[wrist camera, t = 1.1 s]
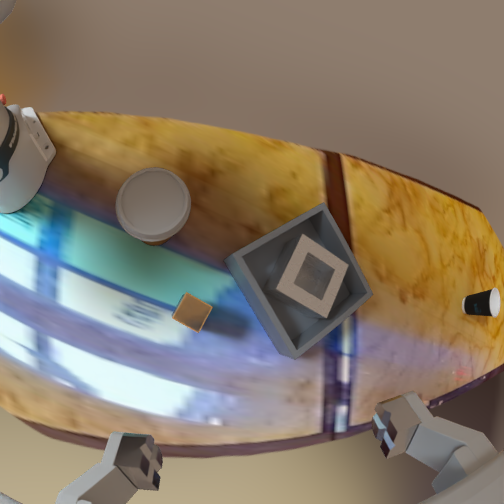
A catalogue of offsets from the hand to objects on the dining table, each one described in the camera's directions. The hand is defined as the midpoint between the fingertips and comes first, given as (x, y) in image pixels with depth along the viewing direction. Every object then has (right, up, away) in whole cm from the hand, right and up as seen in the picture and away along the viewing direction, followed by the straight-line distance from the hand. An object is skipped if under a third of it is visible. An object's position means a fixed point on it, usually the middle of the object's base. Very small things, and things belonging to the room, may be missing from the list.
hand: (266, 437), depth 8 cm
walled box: (+7, +2, +40) cm, 41 cm away
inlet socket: (+7, +2, +40) cm, 41 cm away
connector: (-10, -3, +34) cm, 36 cm away
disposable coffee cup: (-16, +10, +35) cm, 40 cm away
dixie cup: (+61, -9, +56) cm, 83 cm away
